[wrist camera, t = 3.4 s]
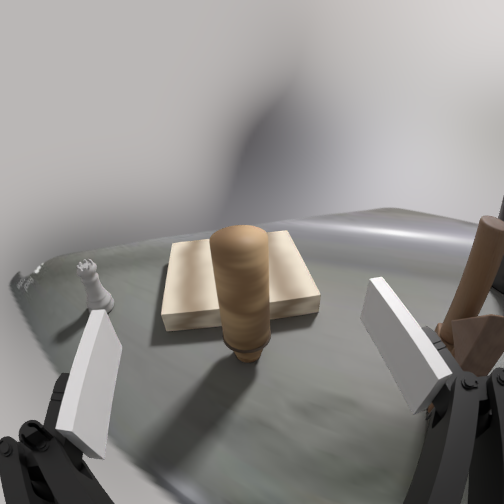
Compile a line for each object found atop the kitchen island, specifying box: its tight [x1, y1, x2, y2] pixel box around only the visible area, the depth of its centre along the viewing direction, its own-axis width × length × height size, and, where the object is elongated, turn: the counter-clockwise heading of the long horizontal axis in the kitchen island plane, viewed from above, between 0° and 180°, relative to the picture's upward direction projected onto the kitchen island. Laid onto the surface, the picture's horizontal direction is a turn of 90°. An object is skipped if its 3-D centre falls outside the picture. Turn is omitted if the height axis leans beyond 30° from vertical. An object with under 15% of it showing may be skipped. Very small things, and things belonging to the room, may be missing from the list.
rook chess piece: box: [77, 259, 114, 313], centre depth 38 cm, size 4×4×8 cm
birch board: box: [161, 230, 321, 331], centre depth 44 cm, size 20×18×3 cm
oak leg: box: [209, 225, 271, 363], centre depth 29 cm, size 5×5×15 cm
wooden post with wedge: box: [428, 216, 504, 413], centre depth 22 cm, size 4×11×18 cm, turn 157°
